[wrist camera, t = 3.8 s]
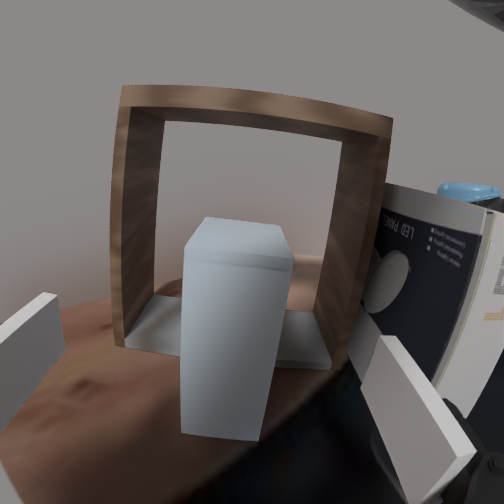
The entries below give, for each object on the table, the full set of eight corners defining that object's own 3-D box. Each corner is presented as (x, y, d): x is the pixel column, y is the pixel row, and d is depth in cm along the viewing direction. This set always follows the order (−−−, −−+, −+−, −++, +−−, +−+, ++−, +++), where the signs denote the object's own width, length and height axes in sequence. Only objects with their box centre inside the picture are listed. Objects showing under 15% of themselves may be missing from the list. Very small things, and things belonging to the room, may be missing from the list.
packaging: (321, 303, 49) (344, 174, 44) (356, 305, 50) (382, 182, 44) (395, 456, 20) (494, 210, 14) (449, 444, 20) (543, 226, 15)
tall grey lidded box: (256, 374, 30) (279, 225, 26) (258, 441, 22) (294, 258, 18) (196, 367, 30) (206, 216, 26) (181, 433, 21) (184, 246, 17)
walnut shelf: (319, 319, 44) (353, 128, 36) (340, 370, 32) (393, 118, 25) (145, 299, 43) (157, 104, 35) (115, 345, 31) (122, 85, 24)
